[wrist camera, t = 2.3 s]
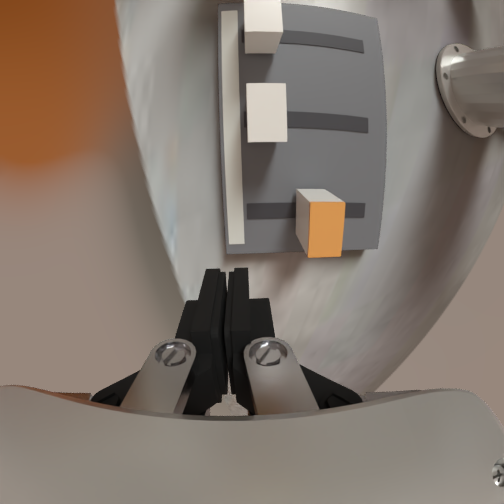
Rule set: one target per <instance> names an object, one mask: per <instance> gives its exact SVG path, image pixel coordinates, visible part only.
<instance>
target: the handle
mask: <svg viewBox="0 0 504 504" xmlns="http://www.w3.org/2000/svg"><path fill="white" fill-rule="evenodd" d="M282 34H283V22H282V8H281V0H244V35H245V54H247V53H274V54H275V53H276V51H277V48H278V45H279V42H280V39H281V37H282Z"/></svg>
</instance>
